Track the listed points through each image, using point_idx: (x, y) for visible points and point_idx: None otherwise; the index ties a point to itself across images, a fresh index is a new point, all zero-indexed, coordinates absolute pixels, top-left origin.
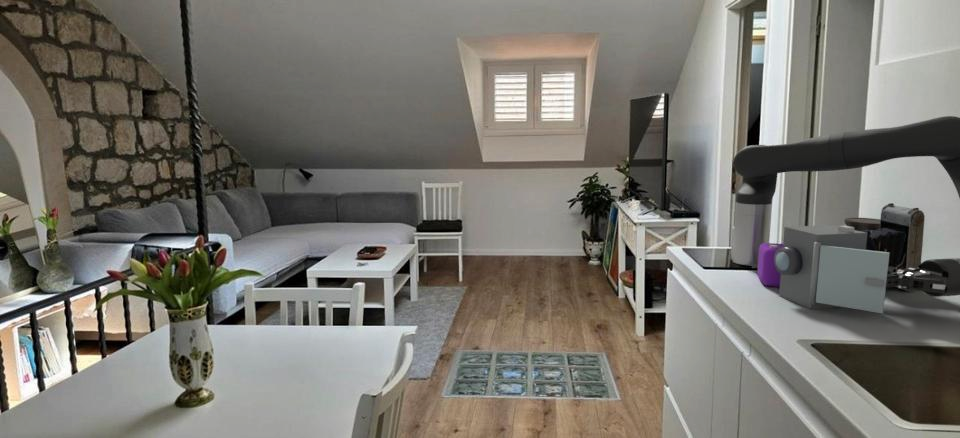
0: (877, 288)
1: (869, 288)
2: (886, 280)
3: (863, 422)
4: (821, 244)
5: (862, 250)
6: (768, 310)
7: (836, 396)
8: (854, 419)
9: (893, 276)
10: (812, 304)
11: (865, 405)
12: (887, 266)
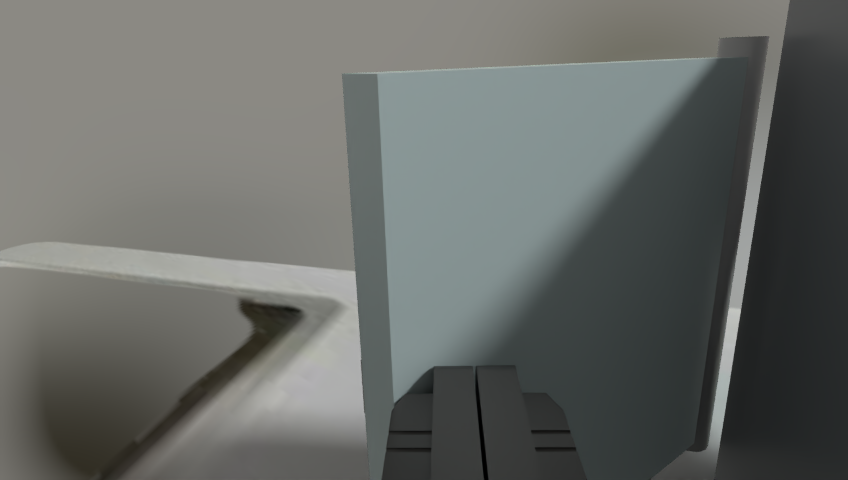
0: None
1: None
2: (391, 406)
3: (36, 245)
4: (807, 60)
5: (531, 65)
6: None
7: (103, 252)
8: (51, 242)
9: (432, 477)
10: (720, 468)
11: (50, 261)
12: (355, 232)
